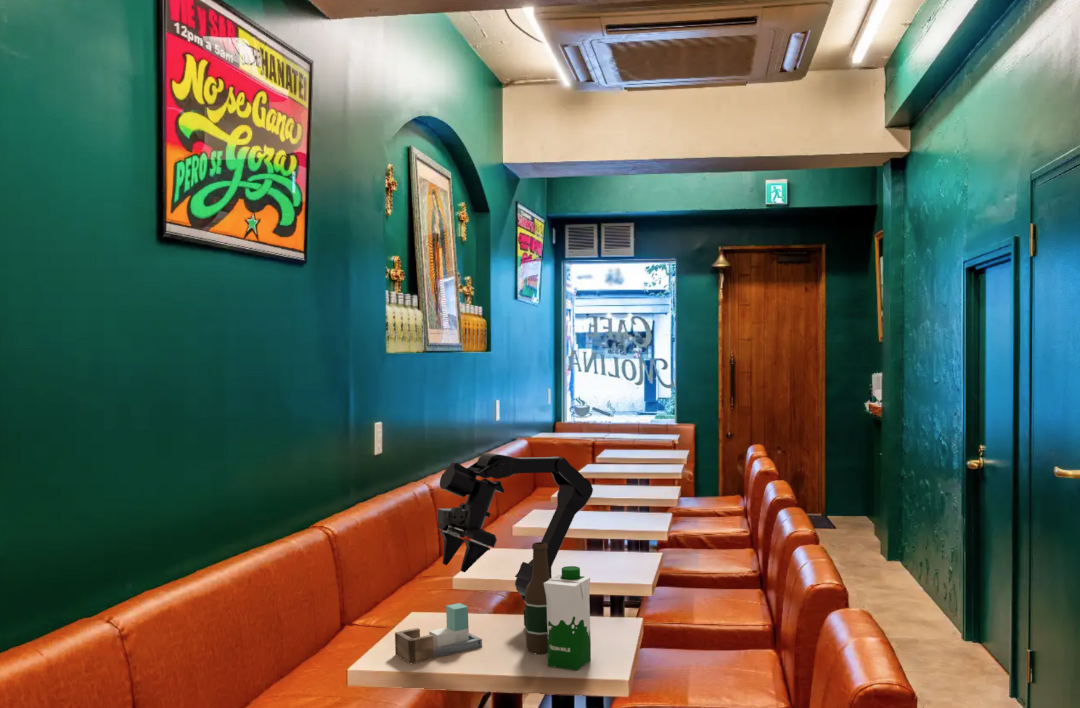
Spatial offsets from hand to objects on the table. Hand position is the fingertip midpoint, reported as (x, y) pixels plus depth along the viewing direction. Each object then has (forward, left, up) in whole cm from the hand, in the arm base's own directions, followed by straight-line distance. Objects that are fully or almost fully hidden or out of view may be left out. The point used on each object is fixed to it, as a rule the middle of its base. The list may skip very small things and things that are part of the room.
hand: (453, 568), depth 203 cm
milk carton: (-28, +10, -18) cm, 35 cm away
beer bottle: (-20, +1, -18) cm, 27 cm away
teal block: (+1, +2, -18) cm, 18 cm away
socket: (+8, +8, -18) cm, 21 cm away
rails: (0, +1, -18) cm, 18 cm away
